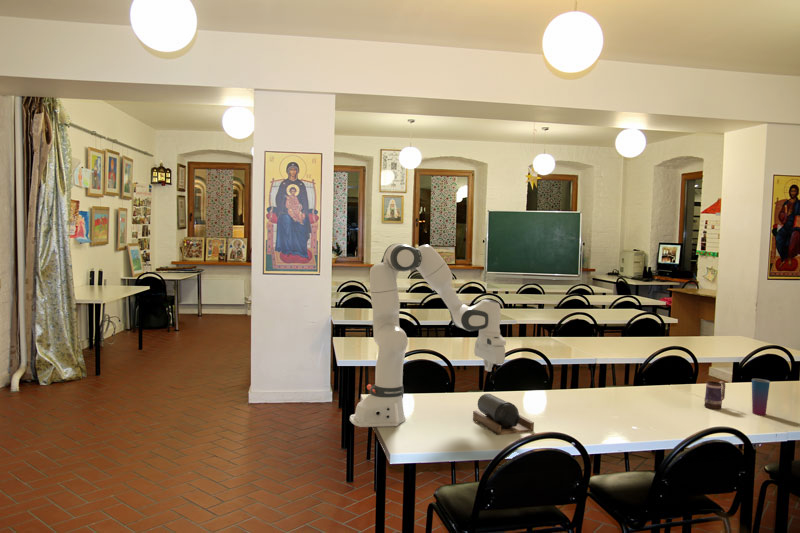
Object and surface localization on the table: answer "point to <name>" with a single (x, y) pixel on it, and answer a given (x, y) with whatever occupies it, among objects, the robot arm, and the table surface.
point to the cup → (759, 396)
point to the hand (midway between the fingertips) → (488, 370)
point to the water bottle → (499, 411)
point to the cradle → (485, 421)
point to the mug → (714, 394)
